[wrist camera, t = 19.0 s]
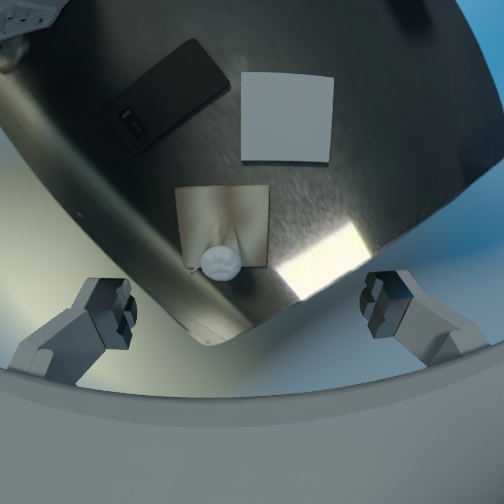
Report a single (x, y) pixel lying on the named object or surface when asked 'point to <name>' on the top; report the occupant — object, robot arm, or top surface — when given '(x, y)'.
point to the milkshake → (221, 253)
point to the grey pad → (286, 116)
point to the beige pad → (223, 208)
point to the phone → (164, 96)
